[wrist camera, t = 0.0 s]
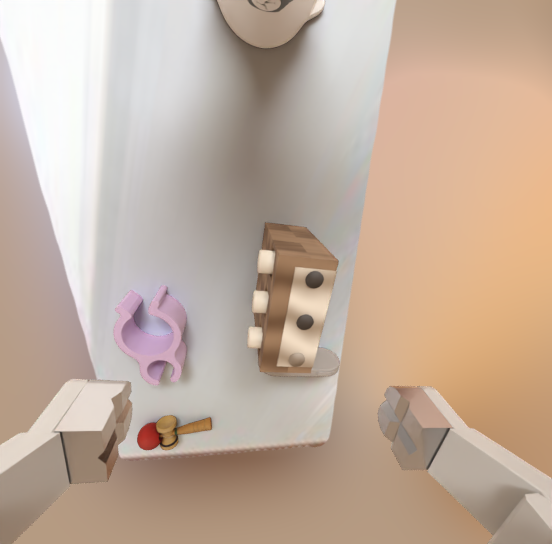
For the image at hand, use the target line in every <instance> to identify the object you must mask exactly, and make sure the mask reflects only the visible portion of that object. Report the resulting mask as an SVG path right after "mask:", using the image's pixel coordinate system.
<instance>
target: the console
mask: <svg viewBox="0 0 552 544" xmlns="http://www.w3.org/2000/svg"><path fill="white" fill-rule="evenodd" d="M262 250H269V251H275V260H274V267H273V273H272V274H264V273H258V280H257V287H256V291H268V295H269V298H268V305H267V311H266V313H254V319H255V327H262V333H263V336H262V343H261V348H258V358H259V368H260V372H280V373H311V370H312V367H313V365H314V361H315V357H316V353H317V349H318V345H319V341H320V337H321V333H322V329H323V325H324V321H325V317H326V313H327V309H328V305H329V301H330V297H331V293H332V289H333V285H334V281H335V277H336V273H337V271H336V270H337V266H338V262H339V261H338V260H337V259H336V258H335V257H334V256H333V255H332V254H331V253H330V252H329V251H328V249H327V248H326V247H325V246H324V245H323V244H322V243H321V242H320V241H319V240H318V239H317V238H316V237H315V236H314V235H313V234H312V233H311V232H310V231H309V230H308V229H307V228H306V227H299V226H291V225H283V224H274V223H266V222H265V229H264V236H263V243H262Z"/></svg>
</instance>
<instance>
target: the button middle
mask: <svg viewBox="0 0 552 544" xmlns="http://www.w3.org/2000/svg"><path fill="white" fill-rule="evenodd" d="M268 298H269V295H268V291H256V290H254V292H253V299H252V312H253V313H266V311H267V305H268Z"/></svg>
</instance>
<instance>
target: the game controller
mask: <svg viewBox="0 0 552 544" xmlns="http://www.w3.org/2000/svg"><path fill="white" fill-rule="evenodd" d="M339 364H340V361H339V358H338V357H337V355H336V354H335V353H333V352H332V351H330V350H328V349H325V348H318V349H317V353H316V357H315V361H314V365H313V367H312V370H311V373H280V372H264V373H266V374H268V375H271V376H332V375H334V374H335V373H337V371H338V368H339ZM258 366H259V358H258Z"/></svg>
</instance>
